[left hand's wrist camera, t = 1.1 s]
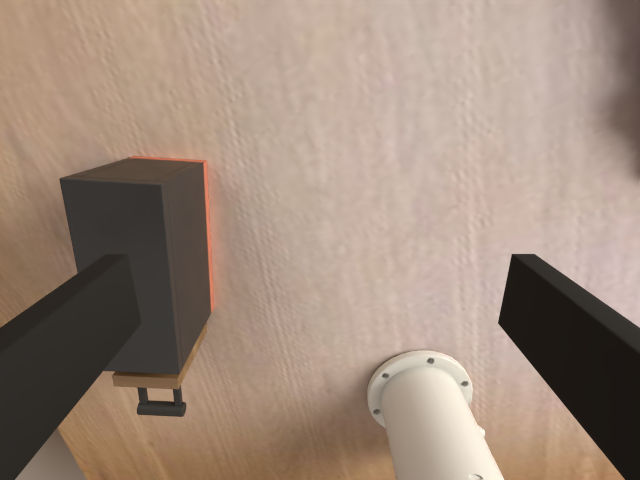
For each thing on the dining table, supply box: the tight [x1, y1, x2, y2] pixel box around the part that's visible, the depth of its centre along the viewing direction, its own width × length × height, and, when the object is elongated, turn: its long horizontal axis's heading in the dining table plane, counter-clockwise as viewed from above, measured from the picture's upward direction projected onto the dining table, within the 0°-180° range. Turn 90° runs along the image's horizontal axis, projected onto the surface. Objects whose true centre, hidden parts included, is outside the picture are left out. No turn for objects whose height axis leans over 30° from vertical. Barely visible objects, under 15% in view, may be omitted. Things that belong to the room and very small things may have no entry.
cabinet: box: [60, 156, 214, 375], centre depth 33 cm, size 16×7×11 cm, turn 176°
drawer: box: [112, 324, 207, 417], centre depth 35 cm, size 21×6×9 cm, turn 177°
